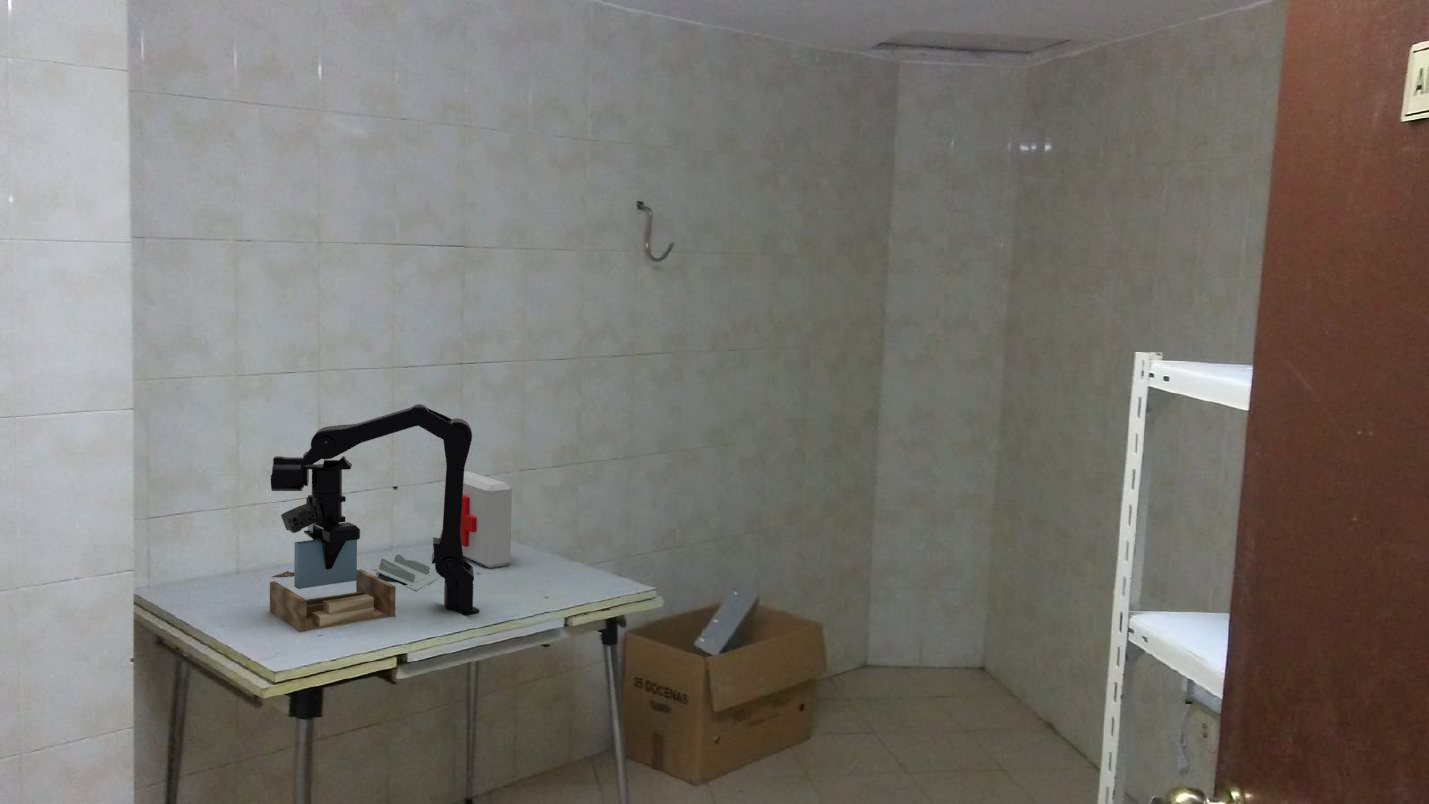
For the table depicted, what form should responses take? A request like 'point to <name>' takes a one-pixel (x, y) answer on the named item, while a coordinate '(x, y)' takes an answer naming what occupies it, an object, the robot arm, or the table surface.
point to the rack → (301, 610)
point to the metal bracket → (407, 572)
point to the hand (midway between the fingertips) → (326, 567)
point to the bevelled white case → (486, 520)
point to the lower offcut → (341, 617)
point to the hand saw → (285, 574)
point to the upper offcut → (348, 604)
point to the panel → (323, 565)
